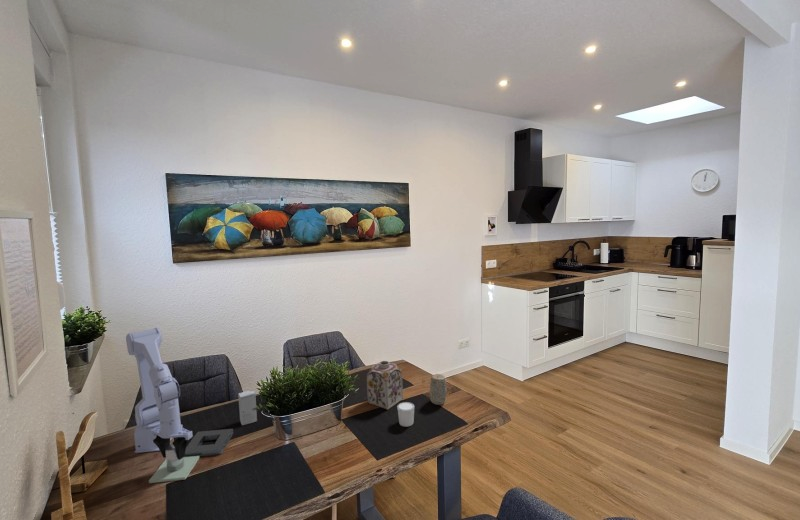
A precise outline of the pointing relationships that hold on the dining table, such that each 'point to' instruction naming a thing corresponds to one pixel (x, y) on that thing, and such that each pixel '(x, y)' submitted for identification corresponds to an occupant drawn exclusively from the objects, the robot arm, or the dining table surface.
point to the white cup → (406, 413)
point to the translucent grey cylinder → (173, 459)
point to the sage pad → (181, 474)
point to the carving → (438, 389)
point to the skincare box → (247, 407)
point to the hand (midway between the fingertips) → (174, 456)
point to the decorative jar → (384, 385)
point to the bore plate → (204, 450)
